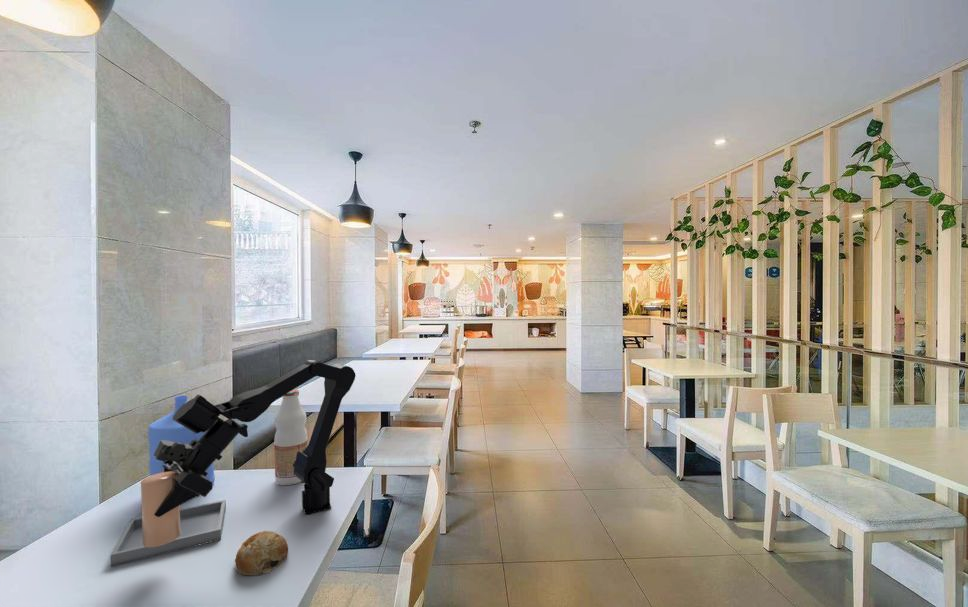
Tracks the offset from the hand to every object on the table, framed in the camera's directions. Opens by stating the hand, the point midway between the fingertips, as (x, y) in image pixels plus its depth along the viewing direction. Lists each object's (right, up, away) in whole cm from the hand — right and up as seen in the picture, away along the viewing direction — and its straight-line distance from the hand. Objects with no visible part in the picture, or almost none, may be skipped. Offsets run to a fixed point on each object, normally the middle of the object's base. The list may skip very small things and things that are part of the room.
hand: (153, 510), depth 87 cm
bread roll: (+21, -13, +3) cm, 25 cm away
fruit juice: (+9, -12, +43) cm, 46 cm away
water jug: (-20, -12, +36) cm, 44 cm away
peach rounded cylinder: (+1, -7, +1) cm, 7 cm away
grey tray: (-6, -13, +14) cm, 19 cm away
